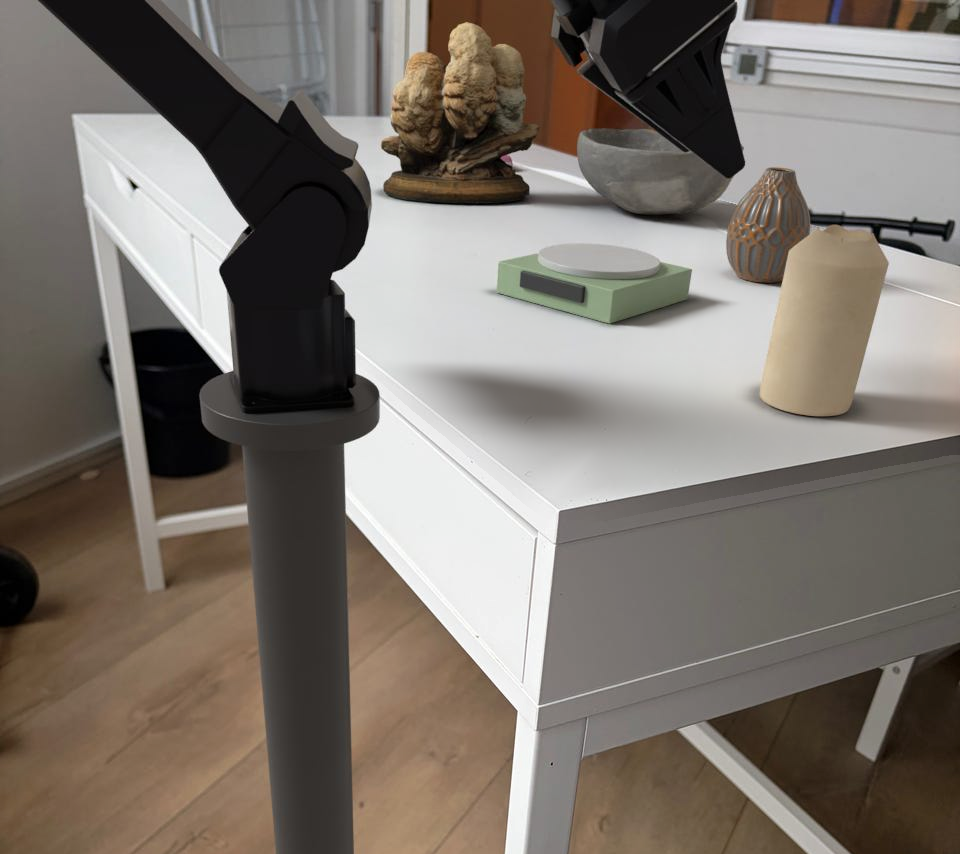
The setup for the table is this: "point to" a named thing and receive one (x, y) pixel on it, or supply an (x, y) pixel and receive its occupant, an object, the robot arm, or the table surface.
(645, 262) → the scale
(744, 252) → the vase
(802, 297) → the candle
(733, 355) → the table surface
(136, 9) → the robot arm
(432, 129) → the owl figurine
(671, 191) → the bowl
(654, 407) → the table surface
